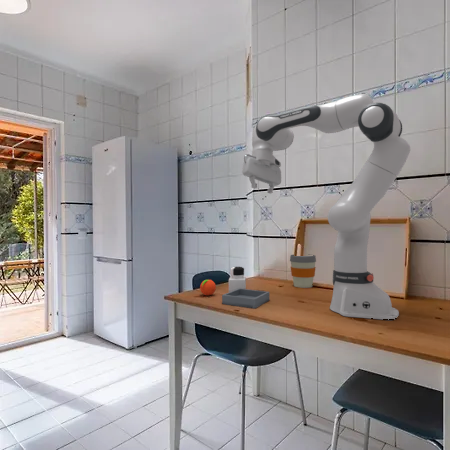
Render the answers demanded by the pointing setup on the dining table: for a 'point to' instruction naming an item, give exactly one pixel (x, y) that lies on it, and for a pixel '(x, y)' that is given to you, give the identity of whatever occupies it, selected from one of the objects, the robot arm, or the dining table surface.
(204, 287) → the clementine
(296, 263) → the reusable coffee cup
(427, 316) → the dining table surface
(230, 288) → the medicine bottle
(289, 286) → the dining table surface
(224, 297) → the tray
